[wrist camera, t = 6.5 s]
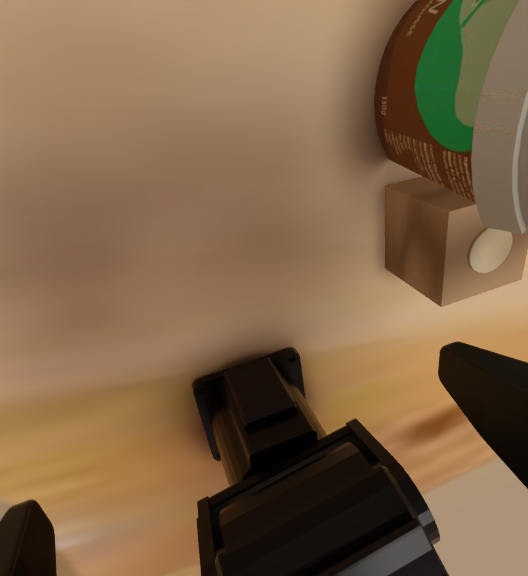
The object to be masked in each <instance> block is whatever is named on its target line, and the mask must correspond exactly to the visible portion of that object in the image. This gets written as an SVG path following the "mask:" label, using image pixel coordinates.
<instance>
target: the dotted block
mask: <svg viewBox="0 0 528 576" xmlns="http://www.w3.org/2000/svg"><path fill="white" fill-rule="evenodd" d="M527 249H528V230H526V231H525V232H524V233H523V234H518V233H513V232H507V231H502V230H497V229H491V228H486V227H484V225H483V222H482V220H481V217H480V215H479V212H478V210H477V205H476V203H475V202H473V201H471V200H469V199H467V198H465V197H463V196H461V195H459V194H457V193H455V192H453V191H451V190H449V189H447V188H445V187H443V186H441V185H439V184H437V183H435V182H433V181H431V180H429V179H427V178H425V177H423V176H422V177H419V178H415V179H411V180H407V181H403V182H399V183H395V184H392V185H388V186H385V268H386V269H387V270H389V271H390V272H392V273H393V274H394V275H396V276H397V277H399V278H400V279H402V280H403V281H405V282H406V283H407V284H409V285H410V286H412V287H413V288H415V289H416V290H418V291H419V292H420V293H422V294H423V295H425V296H426V297H428V298H429V299H431V300H432V301H433V302H435V303H436V304H438V305H439V306H441V307H443V306H446V305H448V304H451V303H454V302H457V301H460V300H463V299H466V298H469V297H472V296H475V295H478V294H481V293H483V292H486V291H489V290H492V289H495V288H498V287H501V286H504V285H507V284H510V283H513V282H516V281H518V280H521V279H522V275H523V270H524V265H525V259H526V254H527Z"/></svg>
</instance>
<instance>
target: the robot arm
mask: <svg viewBox="0 0 528 576" xmlns="http://www.w3.org/2000/svg"><path fill="white" fill-rule="evenodd" d="M290 356H293V357H292V358H290V359H288V358H289V357H290ZM438 375H439V379H440V381H441V383H442V384H443V386H444V387H445V388H446V390H447V391H448V393H449V394H450V395H451V397H452V398H453V399H454V401H455V402H456V403H457V405H458V406H459V407H460V409H461V410H462V412H463V413H464V414H465V416H466V417H467V418H468V420H469V421H470V422H471V424H472V425H473V427H474V428H475V429H476V430H477V432H478V433H479V434H480V436H481V437H482V438H483V439H484V440H485V441H486V443H487V444H488V445H489V446H490V447H491V448H492V449H493V451H494V452H495V453H496V454H497V455H498V456H499V457H500V458H501V460H502V461H503V462H504V463H505V464H506V465H507V466H508V467H509V468H510V470H511V471H512V472H513V473H514V474H515V475H516V476H517V477H518V479H519V480H520V481H521V482H522V483H523V484H524V485H525V486H526V487H527V489H528V363H527V362H524V361H520V360H517V359H514V358H511V357H507V356H504V355H501V354H498V353H494V352H491V351H488V350H485V349H481V348H478V347H475V346H472V345H468V344H465V343H462V342H453V343H451V344H448V345H445V346H443V347H442V348H441V350H440V357H439V369H438ZM203 386H204V388H203V389H199V388H200V387H203ZM192 389H193V393H194V396H195V399H196V403H197V406H198V409H199V412H200V416H201V419H202V422H203V425H204V429H205V432H206V435H207V438H208V442H209V445H210V448H211V452H212V455H213V458H214V459H215V460H217V461H220V460H222V463H223V466H224V469H225V473H226V476H227V479H228V482H229V485H230V487H228V488H227V489H225V490H223V491H221V492H219V493H217V494H215V495H213V496H211V497H210V498H209V497H208V496H207V497H205V498H203V499H201V500H199V501H198V502H197V505H198V518H197V529H198V542H199V554H200V566H201V576H449V575H448V573H447V571H446V569H445V567H444V565H443V564H442V562H441V560H440V558H439V556H438V554H437V552H436V550H435V548H434V547H433V544H435V543H437V542H438V541H440V535H439V532H438V528H437V525H436V523H435V520H434V518H433V516H432V514H431V512H430V510H429V508H428V506H427V504H426V502H425V500H424V499H423V497H422V495H421V494H420V492H419V490H418V489H417V487H416V486H415V484H414V483H413V481H412V480H411V478H410V477H409V475H408V474H407V473H406V471H405V470H404V469H403V467H402V466H401V465H400V464H399V463H398V462H397V460H396V459H395V458H394V457H393V456H392V455H391V454H390V453H389V452H388V451H387V450H386V449H385V448H384V447H383V446H382V445H381V444H380V443H379V442H378V441H377V440H376V439H375V438H374V437H373V436H372V435H371V434H370V433H369V432H368V431H367V430H366V428H365V427H364V426H363V425H362V424H361V423H360V422H359V421H358V420H357V419H356V418H355V419H353V420H351V421H349V422H347V423H346V426H344V427H342V428H340V429H338V430H336V431H334V432H332V433H331V434H329V435H327V434H326V432H325V431H324V429H323V427H322V426H321V424H320V423H319V421H318V419H317V418H316V416H315V415H314V413H313V411H312V410H311V408H310V407H309V405H308V403H307V402H306V400H305V393H304V385H303V378H302V370H301V362H300V356H299V354H298V352H297V351H296V350H295V349H293V348H290V349H286V350H283V351H281V352H278V353H275V354H272V355H269V356H266V357H263V358H260V359H257V360H254V361H251V362H248V363H245V364H242V365H239V366H236V367H233V368H230V369H227V370H225V371H222V372H219V373H216V374H213V375H210V376H207V377H204V378H201V379H198V380H196V381H195V382H194V383H193V385H192ZM0 576H57V575H56V552H55V534H54V529H53V526H52V523H51V522H50V520H49V519H48V517H47V516H46V514H45V513H44V511H43V510H42V508H41V507H40V505H39V504H38V503H37V501H35V500H33V499H32V500H28V501H25V502H22V503H19V504H17V505H14V506H12V507H11V508H9V509H8V510H7V512H6V513H5V515H4V516H3V518H2V519H1V521H0Z"/></svg>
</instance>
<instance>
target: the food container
mask: <svg viewBox="0 0 528 576" xmlns="http://www.w3.org/2000/svg"><path fill="white" fill-rule="evenodd" d="M374 103H375V120H376V125H377V131H378V135H379V138H380V141H381V144H382V147H383V148H384V150H385V152H386V154H387V156H388V158H389V159H390V160H392V161H394V162H396V163H398V164H400V165H402V166H404V167H406V168H408V169H410V170H411V171H413V172H415V173H417V174H419V175H421V176H423V177H425V178H427V179H429V180H431V181H433V182H435V183H437V184H439V185H441V186H443V187H445V188H447V189H449V190H451V191H453V192H455V193H457V194H459V195H461V196H463V197H465V198H467V199H469V200H471V201H473V202H475V203H476V205H477V210H478V212H479V215H480V217H481V220H482V222H483V225H484V227H486V228H491V229H497V230H502V231H507V232H513V233H518V234H523V233H524V232H525V231H526V230H528V0H417V1H416V2H415V3H414V4H413V5H412V6H411V7H410V9H409V10H408V11H407V12H406V13H405V15H404V16H403V17H402V19H401V20H400V22H399V23H398V25H397V27H396V28H395V30H394V31H393V33H392V35H391V37H390V40H389V42H388V44H387V46H386V48H385V51H384V54H383V57H382V60H381V63H380V66H379V71H378V75H377V80H376V88H375V100H374Z"/></svg>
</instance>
